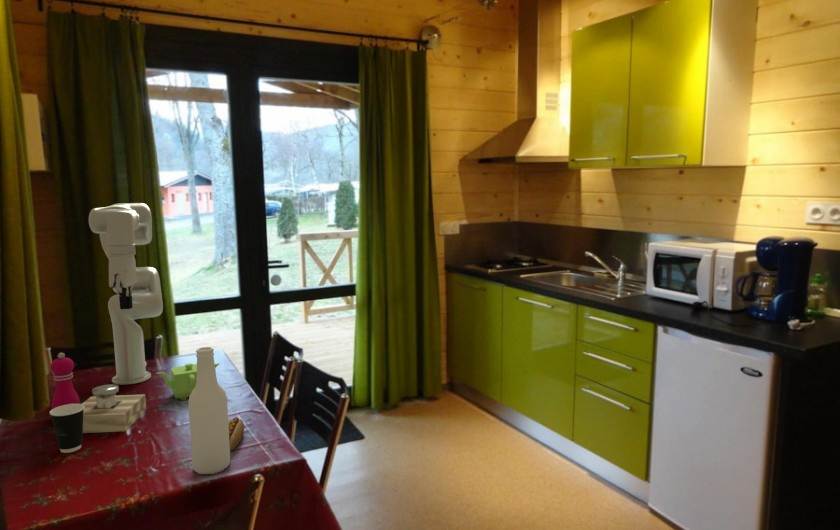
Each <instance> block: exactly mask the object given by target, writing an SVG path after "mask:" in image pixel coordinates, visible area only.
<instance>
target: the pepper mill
mask: <svg viewBox="0 0 840 530" xmlns="http://www.w3.org/2000/svg"><path fill="white" fill-rule="evenodd" d="M74 368H75V363H74V361H73V360H72V359H71V358H70V357H66V355H65V353H64V352H59V353H58V354H57V358H55V359H54V360H53V361H52V362H51V363H50V371H51V373H53V375H52V376H53V381H55V390H54V393H53V396H52V399H51V408H52V409H54V408H56V407H59V406H62V405H67V404H81V403H80V402H81V401H80V396H79V395H78V393H77V391H76V390H75V387H74V386H73V382H72V381H73V379H72V378H73V377H74V375H73V374H74V372H73V370H74Z"/></svg>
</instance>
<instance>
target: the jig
mask: <svg viewBox="0 0 840 530" xmlns="http://www.w3.org/2000/svg"><path fill="white" fill-rule="evenodd" d="M81 404H83V405H84V406H85V408H84V412H83V434H89V433H90V434H91V433H113V432H114V433H116V432H117V433H118V432H126V431H127V430H128V429H129V428H130V427H131V426H133V424H134V423H135V422H136V421H137V420H138V419H139V418H140V417H141V416H142V415H143V414H144V413H146V411H147V401H146V394H145V393H144V394H124V395H123V394H121V395H116V407H115V408H114V409H97V400H96V396H90V397H89V398H87V399H86V400H85V401H83V402H82V403H81Z"/></svg>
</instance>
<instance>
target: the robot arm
mask: <svg viewBox="0 0 840 530" xmlns="http://www.w3.org/2000/svg"><path fill="white" fill-rule="evenodd" d="M88 225H89V228H90V230H91V232H93V234H99V240H100V243H101V247H102V250H103V251H104V254H105V256H106V257H107V259H108V287H109V288H110V289H112V290H113V292H115V293H116V294H114V295H112V296H111V297H110V298H109V300H108V302H107V308H108V312H109V315H110V321H111V325H112V326H111V327H112V335H113V345H114V346H113V348H114V359H115V361H114V362H115V372H116V374H115V376H113V377H112V378H111V382H112V384H114V385H118V386H119V385H124V386H127V385H135V384H138V383H144V382H146V381H147V380H149V379H150V378H151V377H152V373H151V372H149V371H147V369H146V367H147V365H148V362H146V355H145V340H144V331H143V328H142V326H141V325H140V324H138V323H137V322H136V321H135V320H138V319H148V318H156V317H159V316H160V315H161V314H162V313H163V309H164V303H163V294H162V287H161V279H160V278H161V277H160V275H159V272H158V270H157V268H155V267H153V266H152V267H151V266H144V267H143V266H139V267H137V263H136V262H137V261H136V258H135V255H136V254H137V252H136V251H137V250H136V246H144V245H148V244H150V243H151V242H152V239H153V218H152V211H151V209H150V207H149V206H148V205H147V204H146V203H143V202H130V203H129V202H128V203H127V202H126V203H121V202H120V203H118V202H117V203H114V204H112V205H108V206H105V207H104V206H103V207H95V208H92V209H91V210H90V212H89V215H88Z"/></svg>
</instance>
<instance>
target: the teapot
mask: <svg viewBox="0 0 840 530" xmlns="http://www.w3.org/2000/svg"><path fill="white" fill-rule="evenodd" d="M219 365H221V363H220V362H219V363H215V369H216V368H217V367H218V366H219ZM156 374H157V375H160V376H162V378H163V379H164V382H165V384H166V386H167V387H168V388H170V389H171V390H172V394H173V395H174V398H175V400H177V399H180V401H181V400H182V401H183V400H185V401H186V400H188V397H190V394H191V393H192V391H193V390H194V388H195V387H196V383H197V363H195V364H194V363H186V364H184V365H182V366H174V367H171V368H170V374H171V375H170V377H171V379H170V378H169V376H168V374H167V373H166V372H164V371H159V372H156Z"/></svg>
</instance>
